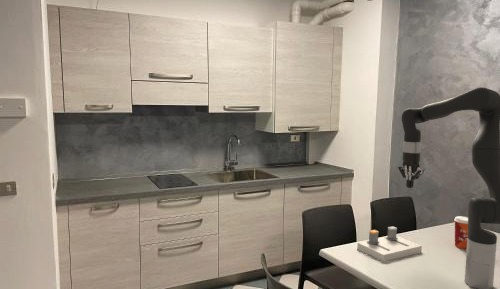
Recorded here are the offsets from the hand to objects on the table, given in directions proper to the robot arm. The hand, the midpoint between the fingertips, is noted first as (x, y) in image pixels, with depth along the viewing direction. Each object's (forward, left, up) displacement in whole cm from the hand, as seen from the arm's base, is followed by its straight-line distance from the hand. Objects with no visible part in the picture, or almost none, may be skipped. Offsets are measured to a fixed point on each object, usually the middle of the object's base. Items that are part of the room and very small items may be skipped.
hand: (409, 187), depth 172 cm
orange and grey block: (-12, +12, -26) cm, 31 cm away
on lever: (-2, +7, -26) cm, 27 cm away
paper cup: (+16, -22, -29) cm, 40 cm away
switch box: (-9, +6, -29) cm, 31 cm away
